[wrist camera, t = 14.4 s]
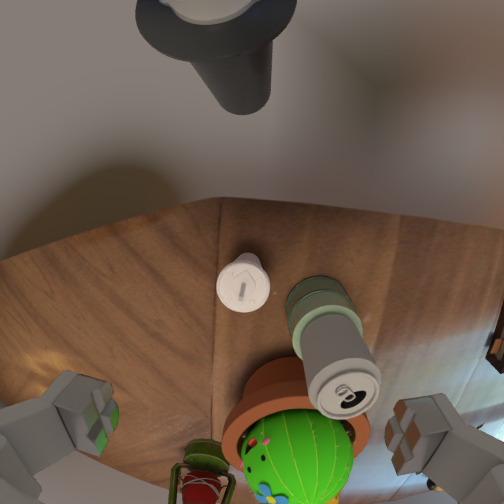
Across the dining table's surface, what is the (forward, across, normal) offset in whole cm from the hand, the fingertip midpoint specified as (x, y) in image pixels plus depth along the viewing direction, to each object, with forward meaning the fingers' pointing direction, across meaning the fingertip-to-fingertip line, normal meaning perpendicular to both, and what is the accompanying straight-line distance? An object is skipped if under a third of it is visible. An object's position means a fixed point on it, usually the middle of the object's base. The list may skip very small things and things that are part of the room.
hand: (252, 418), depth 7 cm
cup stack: (+37, -9, +13) cm, 40 cm away
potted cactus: (+37, -7, +31) cm, 49 cm away
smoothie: (+37, +2, +7) cm, 38 cm away
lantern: (+37, +9, +52) cm, 65 cm away
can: (+27, -9, +13) cm, 31 cm away
